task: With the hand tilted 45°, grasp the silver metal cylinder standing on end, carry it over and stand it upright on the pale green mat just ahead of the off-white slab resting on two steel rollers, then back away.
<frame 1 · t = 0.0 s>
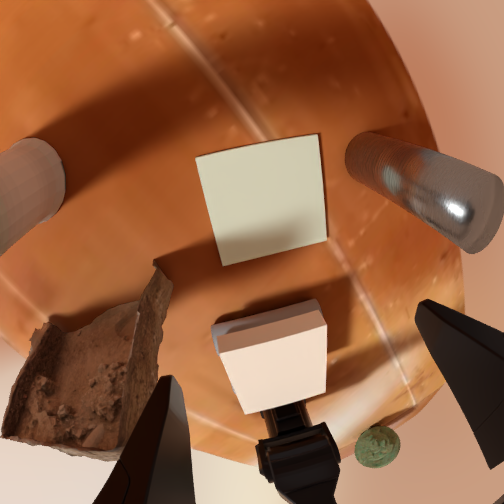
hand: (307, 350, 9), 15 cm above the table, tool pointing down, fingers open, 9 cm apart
silver metal cylinder: (367, 157, 22), on the table
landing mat: (267, 200, 22), on the table
container: (31, 180, 17), on the table
slab on rollers: (269, 340, 29), on the table
decorative artifact: (366, 428, 50), on the table
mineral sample: (98, 306, 24), on the table
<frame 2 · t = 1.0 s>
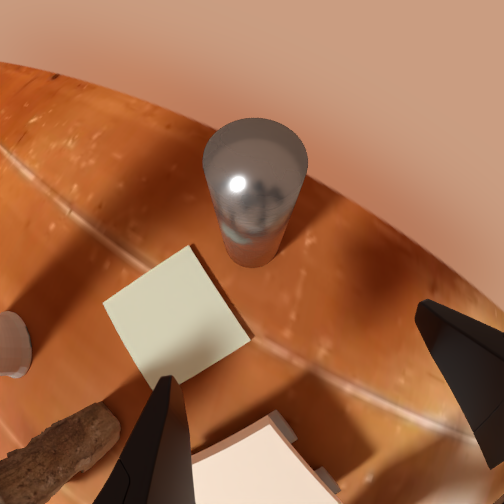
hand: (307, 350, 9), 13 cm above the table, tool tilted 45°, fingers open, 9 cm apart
silver metal cylinder: (252, 241, 24), on the table
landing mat: (172, 322, 22), on the table
container: (12, 344, 21), on the table
slab on rollers: (256, 475, 19), on the table
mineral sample: (76, 453, 19), on the table
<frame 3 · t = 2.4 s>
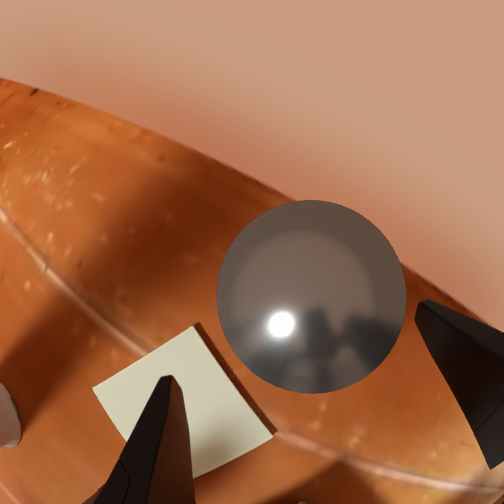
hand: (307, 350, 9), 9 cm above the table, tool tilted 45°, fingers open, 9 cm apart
silver metal cylinder: (273, 319, 18), on the table
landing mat: (177, 416, 16), on the table
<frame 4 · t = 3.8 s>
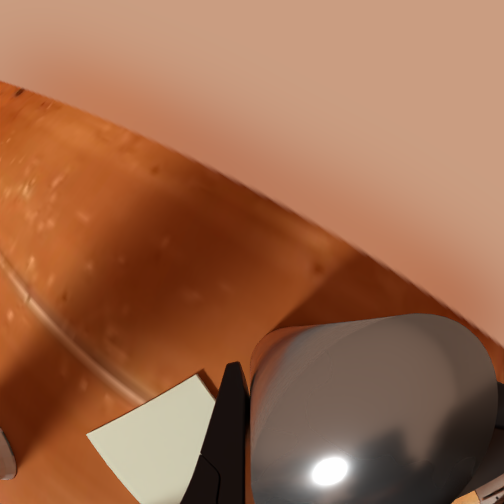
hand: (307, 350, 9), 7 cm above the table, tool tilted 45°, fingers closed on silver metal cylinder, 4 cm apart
silver metal cylinder: (290, 365, 15), on the table, touching gripper
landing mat: (181, 466, 13), on the table
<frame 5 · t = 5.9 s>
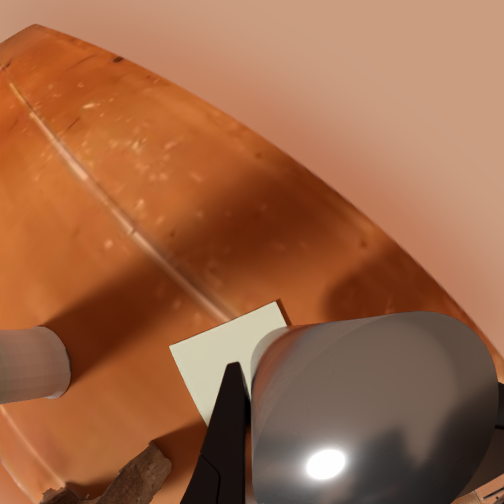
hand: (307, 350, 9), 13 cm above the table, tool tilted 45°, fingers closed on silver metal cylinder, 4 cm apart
silver metal cylinder: (290, 364, 15), point 7 cm above the table, touching gripper
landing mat: (245, 376, 21), on the table
container: (45, 362, 21), on the table
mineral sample: (109, 480, 18), on the table
when the fingers open (8 cm above the table, at t = 7.8 s): silver metal cylinder stays where it is, resting on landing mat.
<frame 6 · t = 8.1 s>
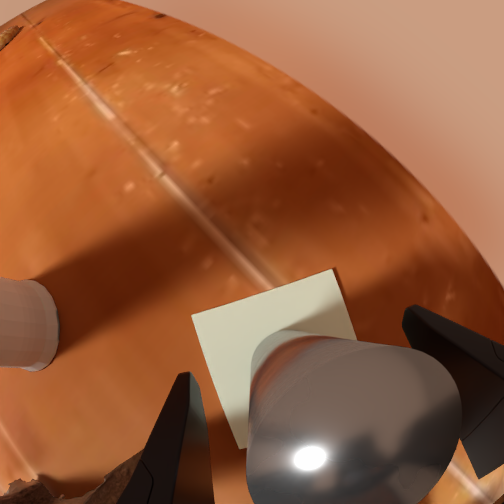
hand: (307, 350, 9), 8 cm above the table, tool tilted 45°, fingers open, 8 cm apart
silver metal cylinder: (288, 366, 16), resting on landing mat
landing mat: (286, 362, 16), on the table
container: (29, 325, 17), on the table
pastry: (4, 45, 31), on the table
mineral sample: (91, 480, 14), on the table
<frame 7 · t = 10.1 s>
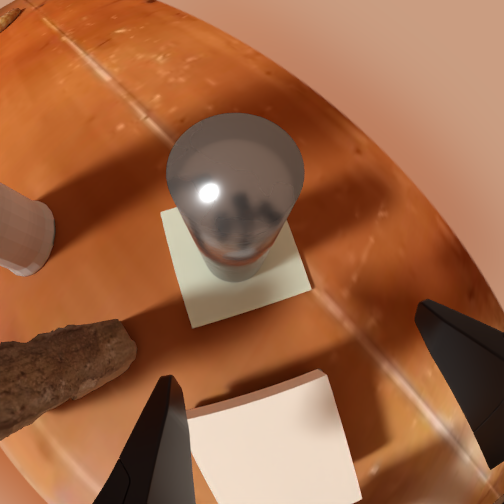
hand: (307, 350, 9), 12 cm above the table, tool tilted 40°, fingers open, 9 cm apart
silver metal cylinder: (234, 252, 21), resting on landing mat
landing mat: (233, 251, 21), on the table
container: (29, 238, 21), on the table
slab on rollers: (270, 442, 18), on the table
pastry: (6, 26, 30), on the table
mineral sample: (65, 378, 19), on the table
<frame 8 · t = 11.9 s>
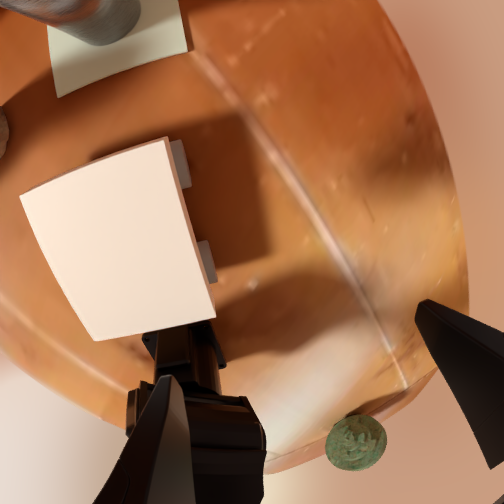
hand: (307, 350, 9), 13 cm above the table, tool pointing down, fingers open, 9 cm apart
silver metal cylinder: (108, 16, 11), resting on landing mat
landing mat: (109, 16, 12), on the table
slab on rollers: (131, 225, 19), on the table
decorative artifact: (341, 416, 40), on the table
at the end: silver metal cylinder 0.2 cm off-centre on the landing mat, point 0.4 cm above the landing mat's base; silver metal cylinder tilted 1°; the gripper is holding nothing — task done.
